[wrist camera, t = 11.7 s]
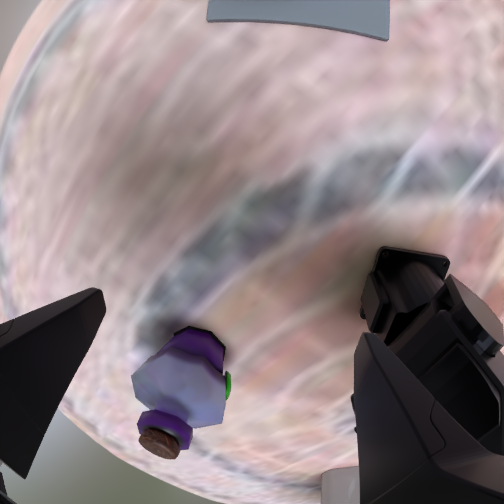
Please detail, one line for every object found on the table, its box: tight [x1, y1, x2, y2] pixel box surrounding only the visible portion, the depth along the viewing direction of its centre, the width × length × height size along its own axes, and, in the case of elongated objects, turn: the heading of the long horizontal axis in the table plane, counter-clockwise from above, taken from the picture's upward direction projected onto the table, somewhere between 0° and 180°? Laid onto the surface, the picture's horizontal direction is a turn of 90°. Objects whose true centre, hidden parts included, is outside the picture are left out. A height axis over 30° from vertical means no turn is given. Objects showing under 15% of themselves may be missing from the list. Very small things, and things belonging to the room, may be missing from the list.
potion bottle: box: [131, 326, 231, 459], centre depth 23 cm, size 9×9×12 cm
